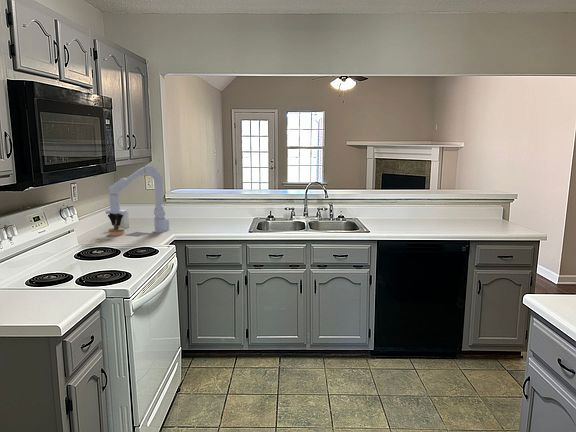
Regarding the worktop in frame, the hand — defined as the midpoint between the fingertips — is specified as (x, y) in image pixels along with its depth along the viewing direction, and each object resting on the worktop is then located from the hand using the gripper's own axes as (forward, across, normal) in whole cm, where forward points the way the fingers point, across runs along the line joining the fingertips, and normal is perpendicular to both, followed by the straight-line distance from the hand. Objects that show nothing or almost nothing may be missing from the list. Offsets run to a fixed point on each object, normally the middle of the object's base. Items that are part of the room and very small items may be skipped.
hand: (116, 225), depth 284 cm
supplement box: (+6, -13, +18) cm, 23 cm away
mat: (+6, +12, +5) cm, 14 cm away
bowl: (+6, 0, 0) cm, 6 cm away
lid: (+3, 0, 0) cm, 3 cm away
